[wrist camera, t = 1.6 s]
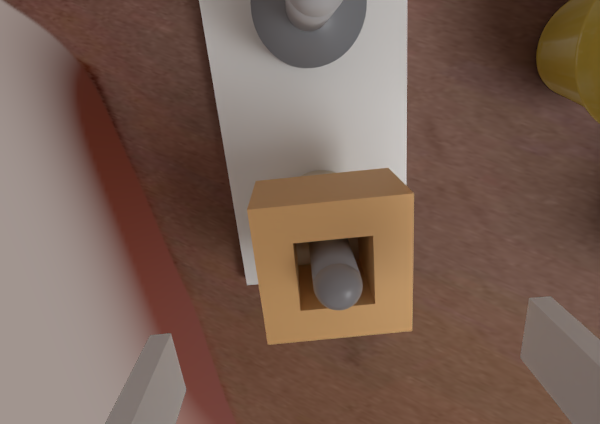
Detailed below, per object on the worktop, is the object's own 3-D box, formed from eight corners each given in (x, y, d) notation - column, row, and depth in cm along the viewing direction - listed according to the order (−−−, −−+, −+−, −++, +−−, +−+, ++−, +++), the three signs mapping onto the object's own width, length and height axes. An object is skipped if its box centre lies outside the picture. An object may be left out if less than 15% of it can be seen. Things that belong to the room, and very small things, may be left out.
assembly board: (401, 262, 32) (473, 385, 19) (248, 277, 32) (222, 409, 19) (402, -101, 23) (534, -302, 10) (189, -79, 23) (73, -251, 11)
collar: (389, 282, 25) (412, 331, 21) (271, 294, 25) (267, 344, 21) (388, 167, 23) (414, 193, 18) (255, 180, 23) (246, 209, 18)
